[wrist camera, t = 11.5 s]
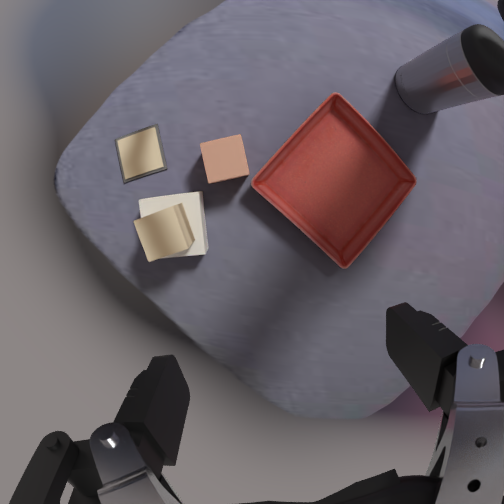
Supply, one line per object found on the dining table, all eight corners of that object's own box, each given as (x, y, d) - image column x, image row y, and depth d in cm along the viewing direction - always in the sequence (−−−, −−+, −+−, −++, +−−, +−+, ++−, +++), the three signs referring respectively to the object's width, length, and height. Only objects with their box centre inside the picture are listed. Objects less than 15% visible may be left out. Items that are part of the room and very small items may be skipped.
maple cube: (182, 202, 34) (172, 205, 30) (195, 239, 36) (188, 248, 31) (147, 215, 35) (133, 221, 30) (160, 251, 36) (148, 262, 31)
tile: (157, 124, 35) (156, 123, 35) (167, 168, 37) (166, 168, 36) (115, 139, 35) (114, 139, 35) (124, 182, 37) (123, 182, 37)
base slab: (202, 191, 38) (198, 191, 34) (208, 247, 40) (205, 254, 36) (148, 198, 38) (138, 199, 34) (155, 252, 40) (147, 259, 36)
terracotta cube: (240, 140, 36) (240, 134, 32) (248, 175, 38) (249, 174, 33) (204, 148, 37) (199, 143, 32) (212, 183, 38) (208, 183, 33)
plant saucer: (408, 180, 39) (419, 180, 36) (337, 265, 42) (345, 272, 38) (328, 95, 35) (335, 89, 32) (246, 183, 38) (247, 183, 35)
